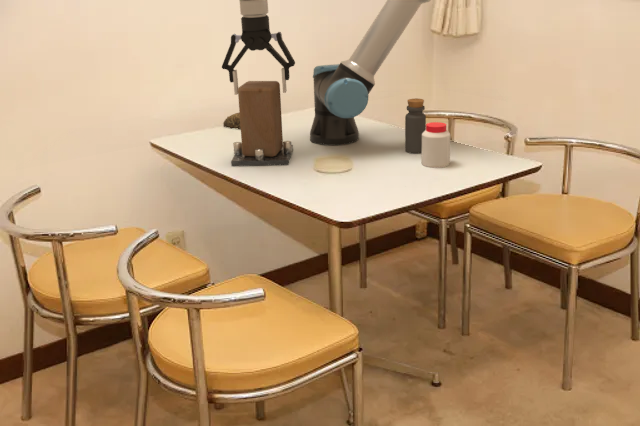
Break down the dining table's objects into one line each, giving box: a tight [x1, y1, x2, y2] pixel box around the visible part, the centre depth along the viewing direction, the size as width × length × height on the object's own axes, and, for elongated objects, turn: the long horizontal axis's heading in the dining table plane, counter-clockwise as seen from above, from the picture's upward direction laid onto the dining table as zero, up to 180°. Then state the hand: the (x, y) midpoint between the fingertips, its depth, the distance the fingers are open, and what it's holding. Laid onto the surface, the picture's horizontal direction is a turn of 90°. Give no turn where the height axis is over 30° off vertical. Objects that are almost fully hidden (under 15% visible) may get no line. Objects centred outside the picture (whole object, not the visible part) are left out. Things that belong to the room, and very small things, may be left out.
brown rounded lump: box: [222, 112, 241, 130], centre depth 263 cm, size 13×12×5 cm
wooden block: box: [237, 80, 284, 157], centre depth 222 cm, size 10×10×20 cm
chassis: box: [230, 140, 294, 167], centre depth 225 cm, size 17×17×4 cm
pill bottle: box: [420, 121, 451, 169], centre depth 213 cm, size 8×8×11 cm
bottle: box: [404, 98, 427, 155], centre depth 224 cm, size 6×6×15 cm
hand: (260, 92), depth 219 cm, fingers open, 13 cm apart
